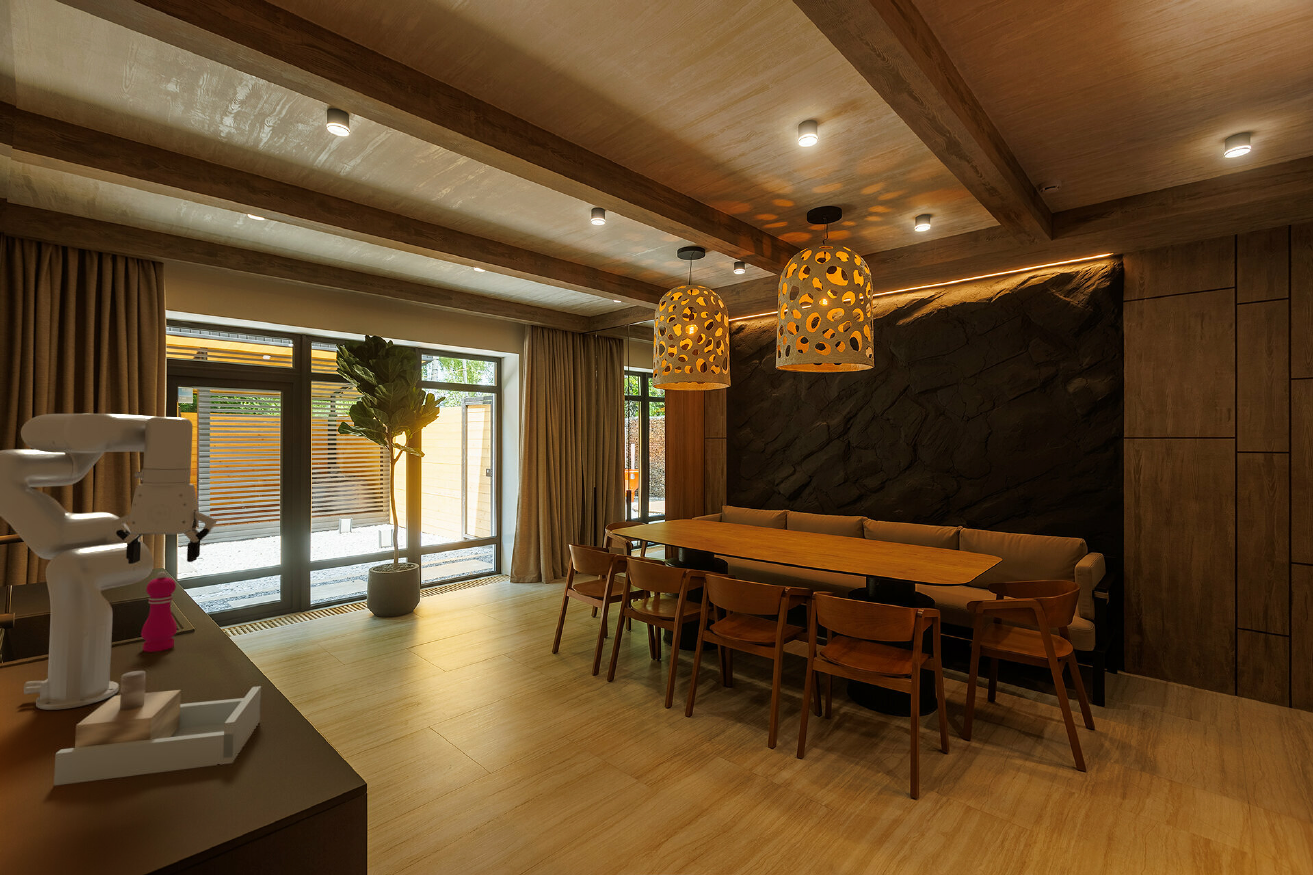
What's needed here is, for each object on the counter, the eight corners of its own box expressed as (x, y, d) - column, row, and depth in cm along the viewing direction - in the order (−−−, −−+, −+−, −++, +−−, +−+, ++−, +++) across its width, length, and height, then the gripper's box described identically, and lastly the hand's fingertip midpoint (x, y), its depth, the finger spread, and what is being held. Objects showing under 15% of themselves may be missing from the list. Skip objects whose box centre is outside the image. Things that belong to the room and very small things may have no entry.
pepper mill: (155, 653, 153) (159, 575, 153) (133, 651, 154) (136, 573, 155) (183, 644, 160) (186, 569, 160) (161, 642, 161) (164, 568, 162)
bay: (54, 785, 95) (56, 740, 95) (107, 738, 110) (109, 699, 110) (232, 762, 103) (234, 721, 103) (259, 721, 118) (261, 686, 118)
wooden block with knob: (74, 768, 97) (77, 690, 97) (112, 734, 108) (115, 664, 109) (149, 759, 100) (152, 684, 101) (179, 727, 112) (182, 659, 112)
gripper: (104, 478, 115) (100, 567, 115) (210, 479, 121) (207, 563, 121) (123, 476, 122) (120, 559, 122) (223, 477, 128) (220, 557, 128)
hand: (163, 561), depth 121 cm, fingers open, 9 cm apart
